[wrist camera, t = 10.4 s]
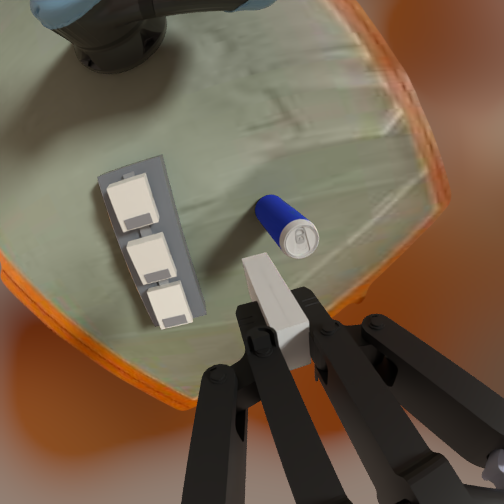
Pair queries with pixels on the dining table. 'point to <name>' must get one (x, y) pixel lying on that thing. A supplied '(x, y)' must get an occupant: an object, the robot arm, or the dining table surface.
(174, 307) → the rocker
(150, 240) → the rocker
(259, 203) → the beverage can
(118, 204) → the plate
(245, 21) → the dining table surface
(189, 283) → the switch console
